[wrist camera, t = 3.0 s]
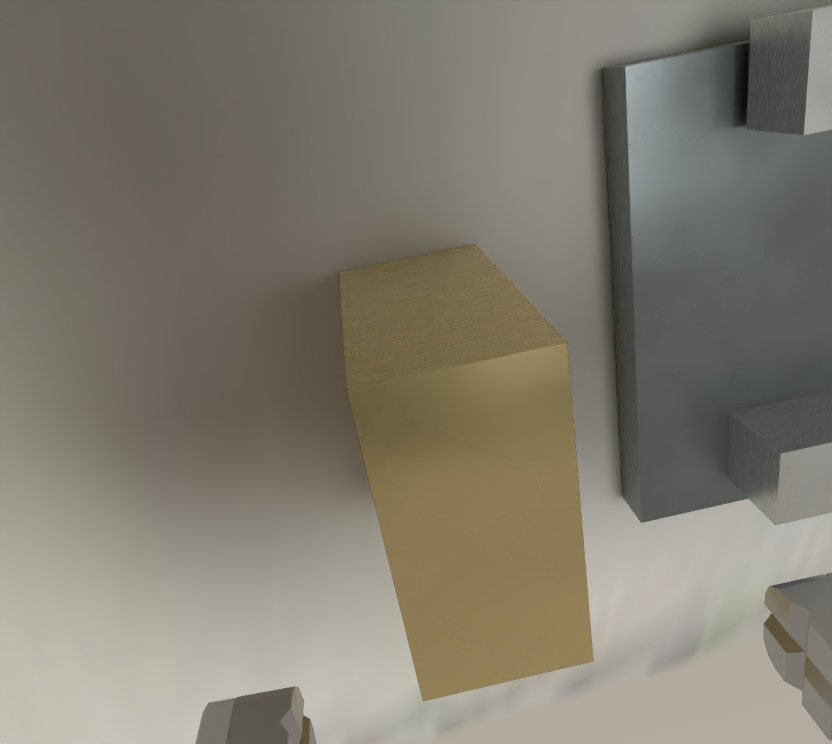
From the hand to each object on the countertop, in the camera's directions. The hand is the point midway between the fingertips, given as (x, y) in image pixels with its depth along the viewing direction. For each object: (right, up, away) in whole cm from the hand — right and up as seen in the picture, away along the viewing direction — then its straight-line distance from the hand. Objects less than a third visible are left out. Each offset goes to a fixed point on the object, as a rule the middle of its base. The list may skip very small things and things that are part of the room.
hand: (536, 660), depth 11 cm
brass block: (-2, +5, +9) cm, 11 cm away
